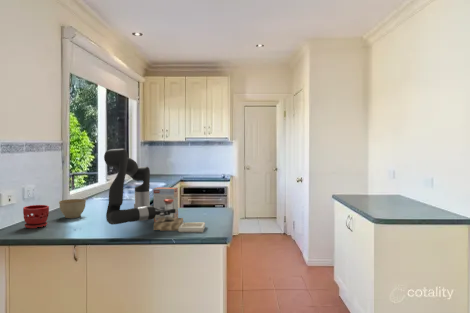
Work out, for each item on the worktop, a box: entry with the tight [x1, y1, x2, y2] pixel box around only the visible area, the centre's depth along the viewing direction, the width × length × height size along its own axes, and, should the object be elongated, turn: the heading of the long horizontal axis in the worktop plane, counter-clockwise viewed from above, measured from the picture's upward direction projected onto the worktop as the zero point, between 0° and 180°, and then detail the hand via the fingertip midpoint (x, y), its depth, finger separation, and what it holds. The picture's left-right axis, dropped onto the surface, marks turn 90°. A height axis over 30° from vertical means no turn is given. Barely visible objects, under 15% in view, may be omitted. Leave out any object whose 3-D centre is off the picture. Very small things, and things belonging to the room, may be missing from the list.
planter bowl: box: [58, 198, 87, 219], centre depth 233 cm, size 16×16×11 cm
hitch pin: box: [164, 199, 174, 222], centre depth 201 cm, size 6×6×16 cm
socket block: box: [153, 217, 184, 231], centre depth 201 cm, size 14×14×4 cm
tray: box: [178, 221, 206, 233], centre depth 196 cm, size 13×13×2 cm
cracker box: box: [153, 186, 179, 223], centre depth 217 cm, size 14×6×21 cm, turn 74°
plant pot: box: [22, 204, 50, 229], centre depth 205 cm, size 13×13×12 cm
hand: (171, 209), depth 202 cm, fingers open, 8 cm apart
